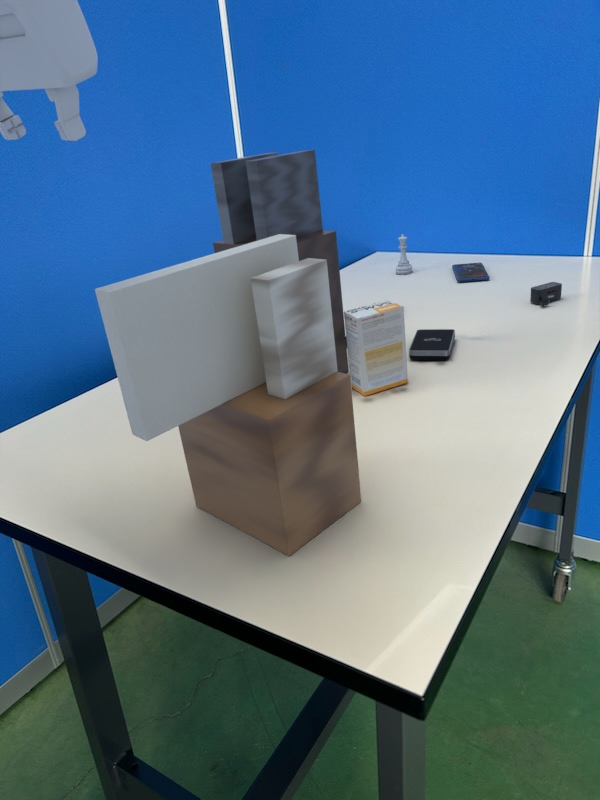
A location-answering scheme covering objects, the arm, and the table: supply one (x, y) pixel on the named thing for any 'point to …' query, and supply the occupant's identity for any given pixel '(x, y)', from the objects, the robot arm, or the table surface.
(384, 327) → the supplement box
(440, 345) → the external hard drive
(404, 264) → the chess piece
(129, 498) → the table surface
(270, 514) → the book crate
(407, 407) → the table surface
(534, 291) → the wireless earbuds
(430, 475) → the table surface
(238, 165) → the bookstand
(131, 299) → the white book
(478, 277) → the smartphone
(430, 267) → the table surface
